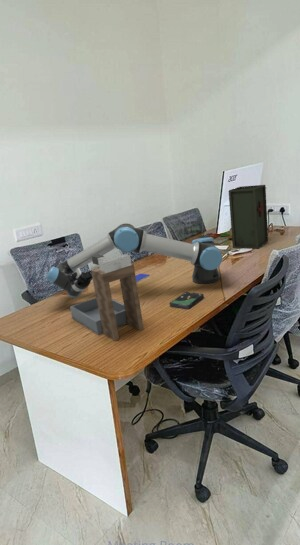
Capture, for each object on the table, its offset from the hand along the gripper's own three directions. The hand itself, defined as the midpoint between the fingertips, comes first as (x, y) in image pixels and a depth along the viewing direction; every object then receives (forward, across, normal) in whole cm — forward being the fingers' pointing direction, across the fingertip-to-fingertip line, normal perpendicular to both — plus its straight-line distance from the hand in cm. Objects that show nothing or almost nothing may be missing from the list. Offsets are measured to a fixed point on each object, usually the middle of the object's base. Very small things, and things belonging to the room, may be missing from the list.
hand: (94, 266), depth 161 cm
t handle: (+11, 0, -4) cm, 12 cm away
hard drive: (-48, -44, -3) cm, 65 cm away
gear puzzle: (-74, -142, +12) cm, 160 cm away
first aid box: (-40, -134, -8) cm, 140 cm away
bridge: (+1, 0, -31) cm, 31 cm away
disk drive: (-1, -37, -30) cm, 48 cm away
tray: (-16, 0, -21) cm, 26 cm away
